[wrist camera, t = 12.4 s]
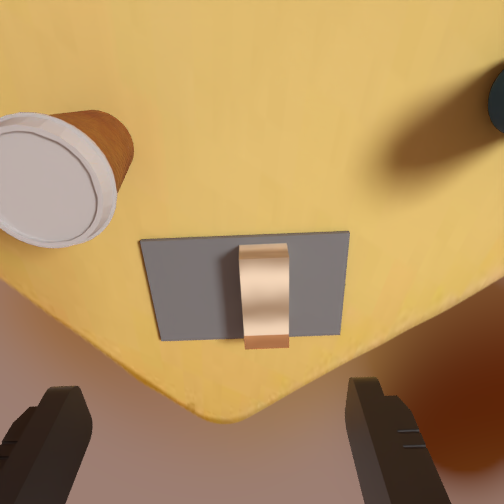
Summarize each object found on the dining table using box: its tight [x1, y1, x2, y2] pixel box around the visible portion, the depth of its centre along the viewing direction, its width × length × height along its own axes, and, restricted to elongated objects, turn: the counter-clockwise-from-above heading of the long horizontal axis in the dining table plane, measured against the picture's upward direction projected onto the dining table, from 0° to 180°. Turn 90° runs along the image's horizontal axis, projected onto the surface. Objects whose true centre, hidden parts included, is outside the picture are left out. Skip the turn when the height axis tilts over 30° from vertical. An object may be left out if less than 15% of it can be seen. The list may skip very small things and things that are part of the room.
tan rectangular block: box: [239, 243, 289, 349], centre depth 42 cm, size 12×5×3 cm, turn 3°
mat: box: [140, 231, 350, 341], centre depth 43 cm, size 22×14×1 cm, turn 92°
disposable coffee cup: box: [0, 110, 134, 248], centre depth 30 cm, size 10×10×12 cm
